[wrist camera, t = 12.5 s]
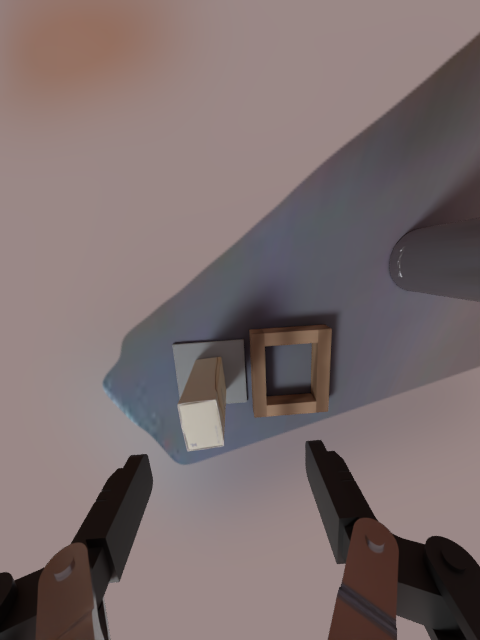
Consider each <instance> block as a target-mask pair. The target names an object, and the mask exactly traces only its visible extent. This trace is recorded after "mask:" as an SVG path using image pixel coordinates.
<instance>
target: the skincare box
mask: <svg viewBox="0 0 480 640" xmlns="http://www.w3.org/2000/svg"><path fill="white" fill-rule="evenodd" d="M225 406H226V384H225V377H224V370H223V364H222V358H221V357H214V358H206V359H199V360H195V363H194V365H193V368H192V370H191V373H190V375H189V378H188V380H187V383H186V385H185V388H184V390H183V393H182V395H181V398H180V400H179V403H178V411H179V416H180V421H181V426H182V431H183V435H184V439H185V443H186V447H187V451H194V450H202V449H209V448H215V447H221V446H224V427H225Z"/></svg>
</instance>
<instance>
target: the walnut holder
mask: <svg viewBox="0 0 480 640" xmlns="http://www.w3.org/2000/svg"><path fill="white" fill-rule="evenodd" d="M331 335H332V329H331V328H330V327H328V326H327V325H325V324H323V325H309V326H294V327H280V328H265V329H250V330H249V336H250V357H251V377H252V398H253V411H254V417H267V416H279V415H291V414H303V413H315V412H327V411H328V402H329V380H330V357H331ZM305 343H312V361H311V393H304V394H291V395H279V396H266V368H265V346H277V345H291V344H305Z"/></svg>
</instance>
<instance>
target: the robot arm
mask: <svg viewBox="0 0 480 640" xmlns="http://www.w3.org/2000/svg"><path fill="white" fill-rule="evenodd" d="M389 269H390V274H391V277H392V279H393V281H394V282H395V283H396V284H397V285H398V286H399V287H400V288H402V289H404V290H407V291H413V292H420V293H426V294H431V295H438V296H444V297H451V298H457V299H464V300H470V301H477V302H480V218H475V219H469V220H464V221H458V222H453V223H447V224H441V225H435V226H430V227H424V228H420V229H416V230H413V231H411V232H409V233H407V234H406V235H405V236H403V237H402V238H401V239H400V240H399V242H398V243H397V244H396V246H395V247H394V249H393V251H392V254H391V257H390V262H389ZM305 448H306V473H307V477H308V481H309V483H310V486H311V489H312V492H313V495H314V498H315V501H316V504H317V507H318V510H319V513H320V516H321V519H322V522H323V524H324V527H325V530H326V533H327V536H328V539H329V542H330V545H331V548H332V551H333V554H334V557H335V559H336V563H337V564H344V563H345V564H346V565H345V570H344V575H343V579H342V584H341V587H339V590H338V594H337V598H336V603H335V608H334V613H333V617H332V622H331V627H330V631H329V636H328V640H397V628H396V615H398V616H400V617H403V618H406V619H408V620H411V621H414V622H416V623H419V624H422V625H424V626H425V628H426V630H427V632H428V634H429V636H430V638H431V640H480V566H479V565H478V564H477V562H476V561H475V560H474V559H473V557H472V556H471V555H470V554H469V553H468V552H467V551H466V550H464V549H463V548H462V547H461V546H459V545H458V544H457V543H455V542H453V541H451V540H449V539H447V538H444V537H441V536H432V537H430V538H428V539H427V541H426V544H421V543H417V542H414V541H410V540H406V539H403V538H400V537H398V536H396V535H394V534H392V533H391V532H390V531H389V530H388V529H387V528H386V527H385V526H384V525H383V524H381V523H380V522H379V521H378V520H377V519H376V517H375V516H374V514H373V512H372V510H371V509H370V507H369V505H368V503H367V501H366V500H365V498H364V496H363V494H362V492H361V490H360V489H359V487H358V485H357V483H356V481H354V478H353V476H352V474H351V472H349V469H348V467H347V465H346V463H345V462H344V460H343V459H342V458H341V457H340V456H339V455H338V454H337V453H336V452H335V451H327V450H326V448H325V446H324V444H323V442H322V441H321V440H314V441H306V445H305ZM152 485H153V477H152V472H151V468H150V463H149V459H148V455H147V454H141V455H131V456H130V457H129V458H128V460H127V462H126V464H125V466H124V467H123V468H119V469H117V470H116V471H115V472H114V473H113V474H112V475H111V476H110V478H109V479H108V480H107V482H106V483H105V485H104V487H103V489H102V492H101V493H100V494H99V496H98V497H97V499H96V502H95V503H94V504H93V506H92V508H91V510H90V511H89V513H88V515H87V517H86V518H85V520H84V522H83V524H82V525H81V527H80V529H79V530H78V532H77V534H76V536H75V537H74V539H73V541H72V542H71V544H70V545H68V546H66V547H64V548H63V549H62V550H60V551H59V552H58V553H57V554H55V555H54V556H53V558H52V559H51V560H50V561H49V562H48V563H47V565H46V566H45V567H44V568H42V569H40V570H38V571H36V572H33V573H31V574H29V575H27V576H24V577H22V578H20V579H17V580H15V581H14V579H13V577H12V576H11V574H10V573H7V572H3V573H0V640H111V638H110V632H109V625H108V619H107V612H106V606H105V600H104V594H105V591H106V589H107V586H108V584H109V583H113V582H119V581H120V579H121V576H122V573H123V570H124V567H125V564H126V562H127V559H128V556H129V553H130V550H131V548H132V545H133V542H134V539H135V536H136V533H137V531H138V528H139V525H140V522H141V519H142V517H143V514H144V511H145V508H146V505H147V503H148V500H149V497H150V494H151V491H152Z"/></svg>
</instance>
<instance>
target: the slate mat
mask: <svg viewBox="0 0 480 640" xmlns="http://www.w3.org/2000/svg"><path fill="white" fill-rule="evenodd" d="M172 346H173V353H174V361H175V368H176V375H177V383H178V390H179V397H180V398H181V395H182V393H183V390H184V388H185V385H186V383H187V380H188V378H189V375H190V373H191V370H192V368H193V365H194V363H195V360H199V359H206V358H214V357H221V358H222V364H223V370H224V377H225V384H226V404H229V403H241V402H247V395H246V376H245V358H244V340H243V339H238V340H224V341H209V342H195V343H181V344H173V345H172Z"/></svg>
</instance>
